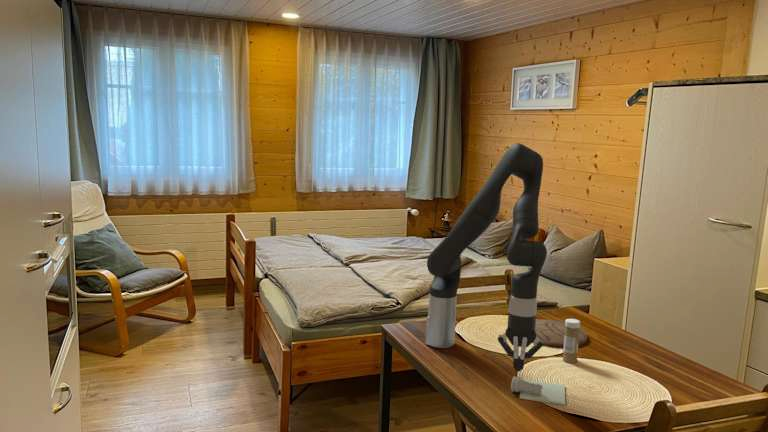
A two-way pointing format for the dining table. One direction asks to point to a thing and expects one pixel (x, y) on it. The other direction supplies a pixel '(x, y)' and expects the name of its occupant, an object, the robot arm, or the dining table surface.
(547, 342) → the trivet
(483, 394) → the dining table surface
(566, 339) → the sprinkles bottle
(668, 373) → the dining table surface
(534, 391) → the rook chess piece
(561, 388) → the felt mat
